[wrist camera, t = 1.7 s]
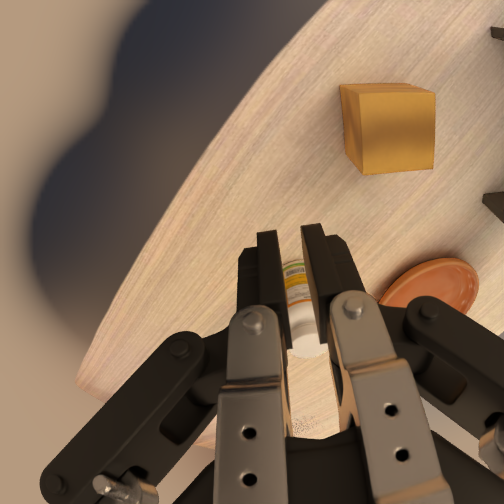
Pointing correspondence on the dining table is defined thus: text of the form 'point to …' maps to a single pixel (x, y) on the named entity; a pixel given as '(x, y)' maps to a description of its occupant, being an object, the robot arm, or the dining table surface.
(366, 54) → the dining table surface
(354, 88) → the box
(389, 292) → the saucer
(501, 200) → the small wooden bench
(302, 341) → the supplement bottle
